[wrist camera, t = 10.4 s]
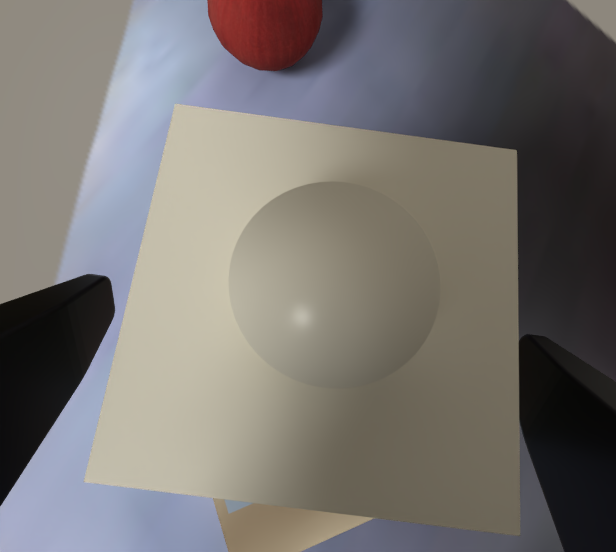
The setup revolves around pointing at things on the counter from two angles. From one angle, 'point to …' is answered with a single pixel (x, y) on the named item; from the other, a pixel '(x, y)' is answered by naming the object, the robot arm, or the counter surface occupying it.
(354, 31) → the counter surface
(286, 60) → the onion
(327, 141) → the brick column
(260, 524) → the board
